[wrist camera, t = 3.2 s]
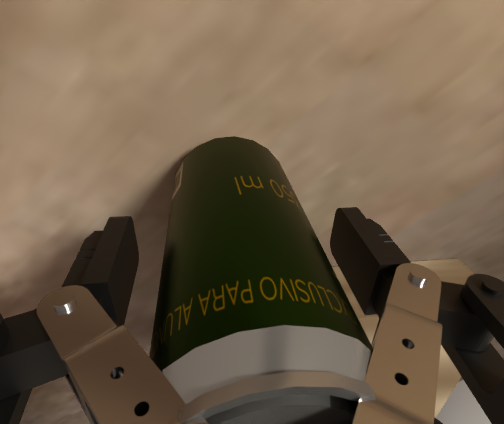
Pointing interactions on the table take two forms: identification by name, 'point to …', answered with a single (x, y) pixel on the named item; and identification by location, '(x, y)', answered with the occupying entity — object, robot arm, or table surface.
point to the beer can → (252, 299)
